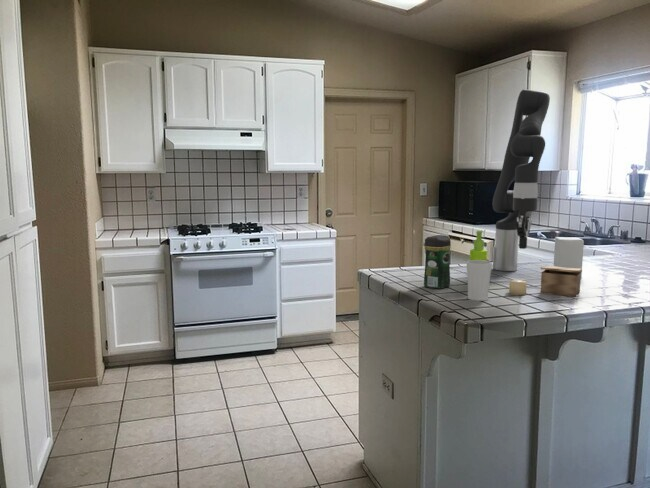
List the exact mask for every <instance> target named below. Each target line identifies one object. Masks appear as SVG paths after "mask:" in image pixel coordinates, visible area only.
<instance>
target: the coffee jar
mask: <svg viewBox="0 0 650 488" xmlns="http://www.w3.org/2000/svg"><path fill="white" fill-rule="evenodd" d="M451 243H452V242H451V238H450V237H449V236H448V235H442V234H437V235H433V236H432V235H431V236H427V237H426V238H425V239H424V251H425V257H424V258H425V259H424V260H425V262H424V263H425V264H424V276H423V286H424V287H425V288H429V289H439V290H441V289H443V288H447V287H449V286H451V270H450V269H451V268H450V255H451V248H452V247H451V246H452V244H451Z"/></svg>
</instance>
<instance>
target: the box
mask: <svg viewBox="0 0 650 488" xmlns="http://www.w3.org/2000/svg"><path fill="white" fill-rule="evenodd" d="M540 277H541V278H540V293H541V294H547V295H555V296H564V297H565V296H566V297H574V298H575V297H577V296H578V295H579V293H580V291H581V278H582V277H581V272H578V273H577V272H566V271H555V270H544V269H543V270H542V271H541V275H540Z"/></svg>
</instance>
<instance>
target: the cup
mask: <svg viewBox="0 0 650 488" xmlns="http://www.w3.org/2000/svg"><path fill="white" fill-rule="evenodd" d="M492 269H493V261H489V260H487V261H484V260H470V259H468V260H466V273H467V275H466V277H467V299H468V300H471V301H479V302H483V301H487V300H488V299H489V290H490V282H491V274H492Z"/></svg>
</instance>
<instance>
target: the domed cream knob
mask: <svg viewBox="0 0 650 488" xmlns="http://www.w3.org/2000/svg"><path fill="white" fill-rule="evenodd" d="M527 284H528V283H527V281H525V280H521V279H511V280H509V284H508V285H509V287H508V293H509V294H510V295H514V296H515V295H516V296H524V295H527Z"/></svg>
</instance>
